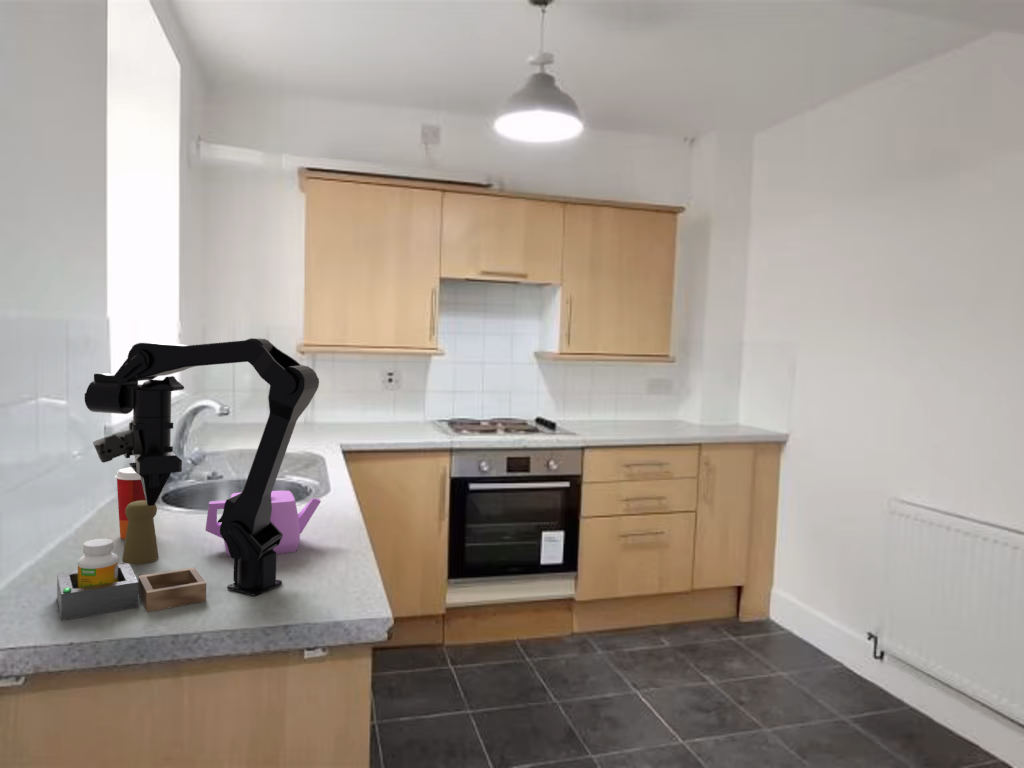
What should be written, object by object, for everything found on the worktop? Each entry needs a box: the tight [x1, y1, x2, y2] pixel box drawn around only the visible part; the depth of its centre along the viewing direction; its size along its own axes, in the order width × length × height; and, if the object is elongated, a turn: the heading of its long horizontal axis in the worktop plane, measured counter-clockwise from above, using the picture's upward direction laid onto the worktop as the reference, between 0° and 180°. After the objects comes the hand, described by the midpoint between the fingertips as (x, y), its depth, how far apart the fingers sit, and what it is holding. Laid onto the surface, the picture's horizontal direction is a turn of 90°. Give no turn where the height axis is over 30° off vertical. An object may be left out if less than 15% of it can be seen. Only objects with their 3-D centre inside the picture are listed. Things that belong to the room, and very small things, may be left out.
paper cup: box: [113, 466, 146, 540], centre depth 139 cm, size 8×8×14 cm
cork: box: [121, 500, 159, 565], centre depth 125 cm, size 6×6×11 cm
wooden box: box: [137, 567, 207, 613], centre depth 109 cm, size 8×8×3 cm
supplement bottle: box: [77, 538, 119, 588], centre depth 105 cm, size 5×5×10 cm
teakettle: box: [205, 490, 322, 558], centre depth 136 cm, size 17×17×12 cm
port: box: [56, 563, 139, 621], centre depth 105 cm, size 10×10×4 cm
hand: (150, 505), depth 115 cm, fingers closed
